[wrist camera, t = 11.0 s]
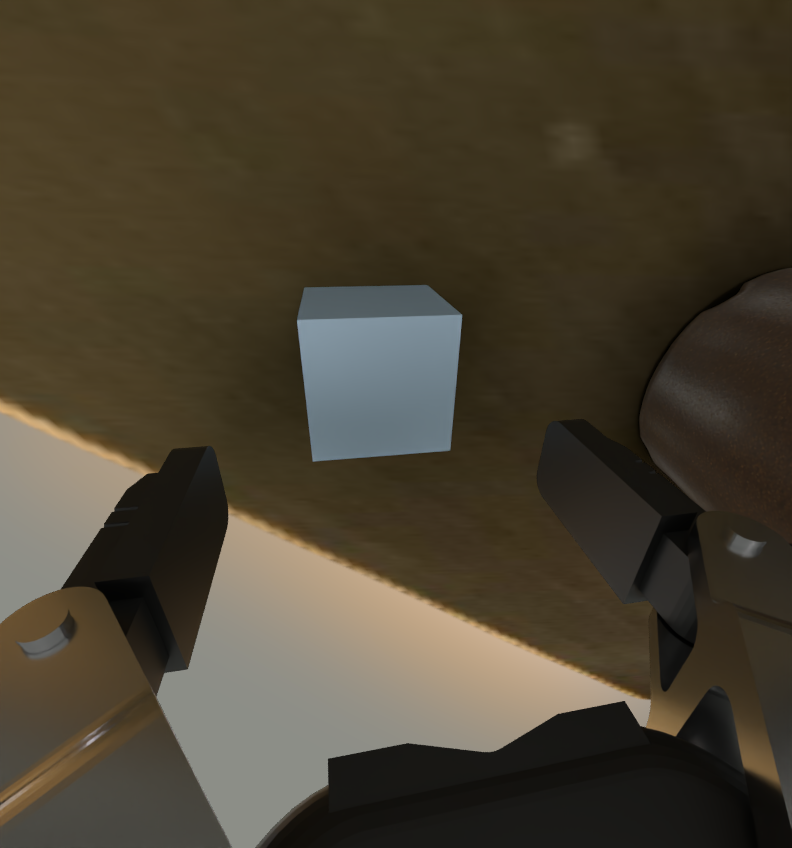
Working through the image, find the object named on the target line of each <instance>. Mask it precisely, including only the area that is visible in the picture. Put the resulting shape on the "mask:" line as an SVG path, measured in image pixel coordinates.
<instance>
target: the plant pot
mask: <svg viewBox="0 0 792 848" xmlns="http://www.w3.org/2000/svg"><path fill="white" fill-rule="evenodd" d="M639 426H640V437H641V439H642V441H643V442H644V444H645V446H646V448H647V449H648V451H649V453H650V456H651V458H652V460H653V461H654V463H655V464H656V465H657V466H658V467H659V468H660V469H661V470H662V471H663V472H664V473H665V474H667V475H668V476H669V477H670V478H671V479H672V480H673V481H674V482H675V483H676V484H677V486H678V487H679V488H680V489H681V490H682V491H683V492H684V493H685V494H686V495H687V496H688V497H689V498H690V499H691V500H693V501H694V502H695V503H696V504H698V505H699V506H700V507H701V508H703V509H704V510H705V511H706V512H707V511H725V512H731V513H735V514H739V515H742V516H745V517H748V518H750V519H753V520H755V521H757V522H759V523H761V524H763V525H765V526H767V527H769V528H770V529H772V530H773V531H775V532H776V533H778V534H779V535H780V536H782V537H783V538H784V539H785V540H786V541H787V542H788V543H789V544H792V268H786V269H781V270H777V271H774V272H770V273H767V274H764V275H761V276H759V277H757V278H755V279H752V280H750V281H748V282H746V283H744V284H743V286H742V287H741V288H740V291H739V292H738V293H737V294H736V295H735V296H733V297H731V298H730V299H728V300H727V301H725V302H723V303H721V304H719V305H718V306H716V307H714V308H711V309H708V310H706V311H703V312H702V313H700V314H699V315H698V316H697V317H696V318H695V319H694V320H693V321H692V322H691V323H690V324H689V325H688V326H687V327H686V328H685V329H684V330H683V331H682V333H681V334H680V335H679V336H678V337H677V338H676V340H675V341H674V342H673V343H672V345H671V346H670V348H669V349H668V351H667V352H666V354H665V355H664V357H663V358H662V360H661V362H660V363H659V365H658V367H657V368H656V370H655V372H654V374H653V376H652V378H651V380H650V382H649V384H648V387H647V390H646V393H645V396H644V399H643V403H642V407H641V411H640V417H639Z"/></svg>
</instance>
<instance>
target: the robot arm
mask: <svg viewBox="0 0 792 848" xmlns="http://www.w3.org/2000/svg"><path fill="white" fill-rule="evenodd" d="M537 484H538V488H539V491H540V493H541V495H542V497H543V498H544V500H545V501H546V502H547V504H548V505H549V506H550V508H551V509H552V510H553V512H554V513H555V514H556V515H557V517H558V518H559V519H560V521H561V522H562V523H563V525H564V526H565V527H566V529H567V530H568V531H569V533H570V534H571V535H572V537H573V538H574V539H575V541H576V542H577V543H578V545H579V546H580V547H581V549H582V550H583V551H584V552H585V554H586V555H587V556H588V558H589V559H590V560H591V562H592V563H593V564H594V566H595V567H596V568H597V570H598V571H599V572H600V574H601V575H602V576H603V578H604V579H605V580H606V582H607V583H608V584H609V586H610V587H611V588H612V589H613V591H614V592H615V593H616V595H617V596H618V597H619V599H620V600H621V601H622V603H623V604H628V603H634V602H641V601H647V600H648V601H649V602H650V603H651V605H652V606H653V609H652V611H651V613H650V615H649V653H650V684H651V706H650V713H649V718H648V721H647V725H646V727H642V726H640V725H639V724H638V722H637V720H636V719H635V717H634V715H633V714H632V712H631V711H630V709H629V707H628V706H627V704H626V703H625V701H622V702H617V703H612V704H607V705H602V706H597V707H592V708H587V709H581V710H576V711H571V712H566V713H561V714H557V715H556V716H554V717H552V718H551V719H549V720H547V721H546V722H544V723H542V724H541V725H539V726H538V727H536V728H534V729H533V730H531V731H529V732H528V733H526V734H524V735H523V736H521V737H519V738H518V739H516V740H514V741H513V742H511V743H509V744H508V745H506V746H504V747H503V748H501V749H499V750H497V751H494V752H477V751H468V750H460V749H452V748H442V747H434V746H426V745H417V744H409V743H407V744H402V745H397V746H392V747H387V748H381V749H376V750H371V751H366V752H361V753H356V754H350V755H346V756H340V757H335V758H330V759H328V783H329V785H327V786H326V787H324V788H322V789H320V790H318V791H317V792H315V793H313V794H312V795H310V796H309V797H308V798H306V799H305V800H304V801H302V802H301V803H300V804H299V805H297V806H296V807H294V808H293V809H292V810H291V811H290V812H289V813H287V814H286V815H285V816H284V817H283V818H282V819H281V820H280V821H279V822H278V823H277V824H276V825H275V826H274V827H273V828H272V829H271V830H270V831H269V832H268V833H267V835H266V836H265V837H264V838H263V839H262V840H261V842H260V843H259V844H258V845H257V846H256V847H255V848H792V544H789V543H788V542H787V541H786V540H785V539H784V538H783V537H782V536H780V535H779V534H778V533H776V532H775V531H773V530H772V529H770V528H769V527H767V526H765V525H763V524H761V523H759V522H757V521H755V520H753V519H750V518H748V517H745V516H742V515H739V514H735V513H731V512H725V511H707V512H706V511H705V510H704V509H703V508H701V507H700V506H699V505H698V504H696V503H695V502H694V501H693V500H691V499H690V498H689V497H688V496H686V495H685V494H684V493H683V492H682V491H680V490H679V489H678V488H677V487H675V486H674V485H673V484H672V483H670V482H669V481H668V480H667V479H665V478H664V477H663V476H662V475H660V474H659V473H657V474H656V473H655V470H654V469H653V468H652V467H650V466H649V465H648V464H647V463H645V462H644V463H642V459H640V458H639V457H638V456H637V455H635V454H634V453H633V452H632V451H630V450H629V449H628V448H627V447H625V446H623V445H621V444H619V443H617V442H615V441H613V440H611V439H608V438H607V437H606V436H604V435H603V434H602V433H601V432H599V431H598V430H597V429H596V428H595V427H593V426H592V425H591V424H590V423H589V422H587V421H586V420H584V419H576V420H562V421H553V422H551V423H550V424H549V426H548V428H547V430H546V435H545V439H544V444H543V448H542V453H541V457H540V462H539V466H538V471H537ZM227 525H228V504H227V499H226V495H225V491H224V487H223V483H222V479H221V475H220V471H219V466H218V462H217V458H216V455H215V452H214V450H213V448H212V447H211V446H205V447H192V448H178V449H173V450H172V451H171V452H170V454H169V455H168V457H167V459H166V461H165V462H164V464H163V466H162V467H161V469H160V471H159V472H158V473H151V474H146V475H145V476H144V477H143V478H141V479H140V480H139V481H137V482H136V483H135V484H134V485H132V486H131V487H130V488H128V489H127V490H126V492H125V493H124V495H123V496H122V498H121V499H120V501H119V502H118V504H117V505H116V507H115V511H114V512H112V513H111V514H110V516H109V517H108V519H107V520H106V522H105V523H104V528H101V529H100V531H99V532H98V534H97V535H96V537H95V538H94V540H93V542H92V543H91V544H90V546H89V547H88V549H87V551H86V552H85V554H84V555H83V557H82V558H81V560H80V561H79V562H78V564H77V566H76V567H75V569H74V570H73V572H72V573H71V575H70V576H69V578H68V579H67V581H66V582H65V584H64V585H63V587H62V588H61V590H58V591H55V592H52V593H49V594H46V595H44V596H42V597H40V598H37V599H35V600H33V601H32V602H30V603H28V604H26V605H25V606H23V607H21V608H20V609H18V610H17V611H15V612H14V613H13V614H11V615H10V616H9V617H7V618H6V619H5V620H4V621H3V622H2V623H1V624H0V848H232V846H231V844H230V842H229V840H228V838H227V836H226V834H225V832H224V830H223V828H222V826H221V824H220V822H219V820H218V819H217V816H216V814H215V812H214V810H213V808H212V806H211V804H210V802H209V801H208V798H207V796H206V795H205V792H204V790H203V788H202V786H201V784H200V782H199V780H198V779H197V777H196V775H195V773H194V771H193V769H192V767H191V765H190V763H189V761H188V759H187V757H186V755H185V753H184V751H183V749H182V747H181V745H180V743H179V741H178V739H177V737H176V735H175V733H174V731H173V729H172V727H171V725H170V723H169V721H168V719H167V717H166V715H165V713H164V711H163V709H162V707H161V705H160V703H159V701H158V699H157V697H156V696H157V693H158V690H159V687H160V684H161V681H162V677H163V675H164V673H167V672H173V671H180V670H186V669H188V667H189V663H190V659H191V656H192V652H193V649H194V645H195V641H196V638H197V634H198V630H199V627H200V623H201V620H202V616H203V613H204V609H205V605H206V602H207V598H208V595H209V591H210V587H211V583H212V580H213V576H214V573H215V570H216V566H217V562H218V559H219V555H220V552H221V548H222V544H223V541H224V537H225V534H226V530H227Z"/></svg>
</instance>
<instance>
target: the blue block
mask: <svg viewBox="0 0 792 848" xmlns="http://www.w3.org/2000/svg"><path fill="white" fill-rule="evenodd" d="M461 324H462V314H461V313H460V312H458V311H457V310H456V309H455V308H454V307H453V306H451V305H450V304H449V303H448V302H447V301H445V300H444V299H443V298H442V297H441V296H440V295H438V294H437V293H436V292H435V291H434V290H433V289H431V288H430V287H429V286H428V285H405V286H355V287H306V288H304V291H303V296H302V300H301V304H300V309H299V313H298V318H297V325H298V334H299V343H300V352H301V361H302V369H303V378H304V387H305V396H306V405H307V414H308V423H309V432H310V441H311V449H312V458H313V461H325V460H337V459H350V458H363V457H375V456H388V455H401V454H414V453H426V452H439V451H450V447H451V436H452V425H453V414H454V402H455V391H456V380H457V369H458V357H459V346H460V335H461Z"/></svg>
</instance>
